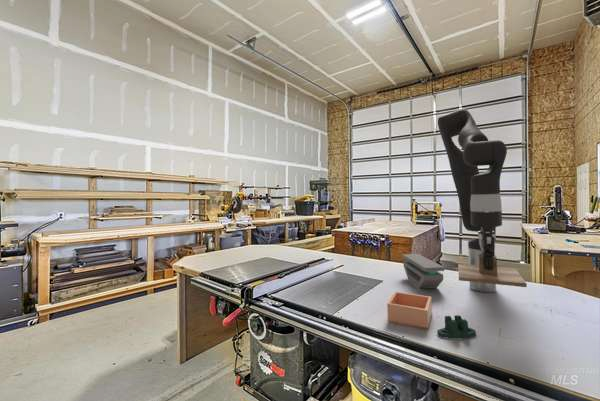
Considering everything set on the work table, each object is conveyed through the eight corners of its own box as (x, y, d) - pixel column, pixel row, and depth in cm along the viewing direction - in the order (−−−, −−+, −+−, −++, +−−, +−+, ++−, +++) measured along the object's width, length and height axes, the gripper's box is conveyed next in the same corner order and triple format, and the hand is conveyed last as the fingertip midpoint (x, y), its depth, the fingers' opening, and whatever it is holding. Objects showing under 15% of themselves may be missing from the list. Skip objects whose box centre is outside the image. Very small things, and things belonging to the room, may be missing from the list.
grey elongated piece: (445, 293, 110) (444, 267, 110) (425, 294, 110) (425, 268, 110) (418, 275, 135) (417, 253, 135) (403, 275, 135) (402, 254, 135)
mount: (442, 340, 77) (441, 322, 76) (434, 332, 81) (433, 315, 81) (480, 338, 77) (479, 320, 77) (470, 330, 81) (469, 313, 81)
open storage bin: (395, 307, 99) (395, 291, 98) (432, 314, 92) (431, 296, 92) (387, 321, 88) (387, 303, 88) (428, 329, 82) (427, 310, 82)
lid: (458, 266, 89) (457, 248, 89) (515, 271, 82) (514, 251, 82) (458, 280, 76) (458, 259, 76) (526, 287, 69) (525, 264, 69)
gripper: (469, 208, 87) (471, 260, 87) (471, 211, 74) (473, 272, 75) (498, 207, 83) (499, 262, 83) (505, 211, 71) (507, 276, 71)
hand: (487, 267), depth 79 cm, fingers closed on lid, 4 cm apart
